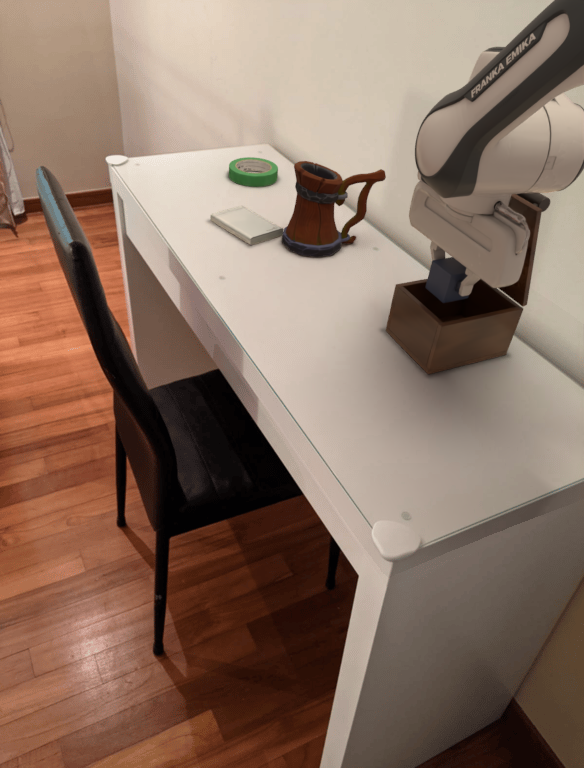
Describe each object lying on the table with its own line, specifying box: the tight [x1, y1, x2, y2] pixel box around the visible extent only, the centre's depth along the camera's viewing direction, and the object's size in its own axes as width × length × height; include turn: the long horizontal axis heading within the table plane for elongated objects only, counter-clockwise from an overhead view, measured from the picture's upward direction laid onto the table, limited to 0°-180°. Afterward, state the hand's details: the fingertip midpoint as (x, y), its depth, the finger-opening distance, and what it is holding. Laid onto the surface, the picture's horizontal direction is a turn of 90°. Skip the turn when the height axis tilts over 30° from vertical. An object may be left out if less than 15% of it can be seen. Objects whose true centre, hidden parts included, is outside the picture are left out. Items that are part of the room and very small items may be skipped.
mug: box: [281, 160, 387, 258], centre depth 112 cm, size 18×12×15 cm, turn 101°
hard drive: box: [209, 205, 284, 246], centre depth 118 cm, size 2×8×12 cm
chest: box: [385, 278, 524, 375], centre depth 92 cm, size 15×12×8 cm
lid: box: [498, 193, 551, 308], centre depth 86 cm, size 15×12×5 cm
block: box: [425, 256, 469, 303], centre depth 86 cm, size 4×4×4 cm
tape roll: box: [228, 156, 279, 188], centre depth 138 cm, size 11×11×3 cm
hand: (449, 283), depth 86 cm, fingers closed on block, 4 cm apart
